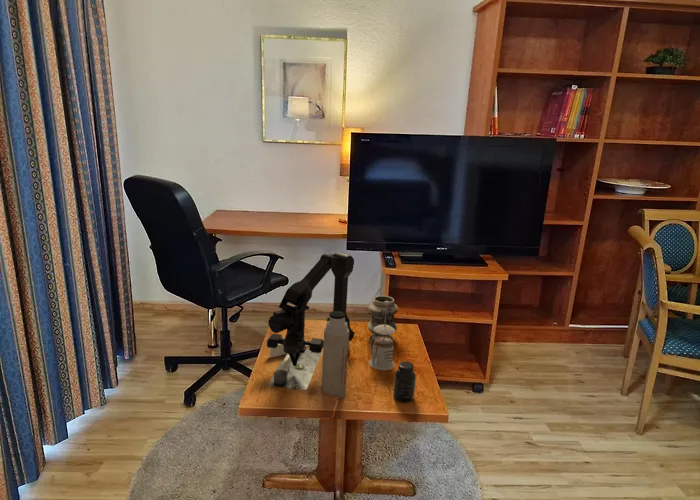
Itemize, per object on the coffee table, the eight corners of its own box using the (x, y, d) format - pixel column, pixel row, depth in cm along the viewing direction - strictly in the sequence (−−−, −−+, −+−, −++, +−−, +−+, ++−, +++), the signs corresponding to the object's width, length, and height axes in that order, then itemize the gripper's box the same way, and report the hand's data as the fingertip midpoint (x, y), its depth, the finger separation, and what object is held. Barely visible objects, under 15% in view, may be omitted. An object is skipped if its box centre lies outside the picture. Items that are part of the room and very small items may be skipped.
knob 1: (298, 347, 186) (299, 336, 185) (304, 352, 182) (304, 341, 181) (267, 354, 178) (267, 343, 177) (272, 359, 175) (272, 348, 174)
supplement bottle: (391, 391, 162) (394, 359, 159) (411, 392, 162) (414, 359, 159) (394, 403, 155) (397, 369, 152) (415, 403, 156) (419, 369, 153)
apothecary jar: (376, 330, 209) (379, 291, 205) (400, 339, 202) (404, 298, 198) (361, 339, 200) (363, 298, 195) (385, 348, 193) (389, 306, 188)
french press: (400, 364, 181) (405, 301, 174) (380, 374, 172) (385, 309, 166) (379, 355, 187) (384, 294, 181) (360, 364, 179) (364, 301, 172)
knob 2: (285, 385, 158) (285, 373, 157) (272, 384, 159) (272, 372, 158) (294, 366, 171) (294, 355, 170) (282, 365, 171) (282, 353, 170)
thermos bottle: (350, 391, 160) (354, 312, 153) (336, 402, 154) (341, 320, 147) (330, 383, 164) (334, 306, 157) (316, 393, 158) (319, 313, 151)
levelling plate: (322, 354, 185) (322, 349, 184) (306, 394, 157) (306, 388, 157) (289, 350, 186) (289, 345, 186) (267, 389, 158) (267, 384, 158)
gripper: (262, 330, 156) (261, 374, 160) (318, 336, 154) (317, 380, 158) (271, 317, 167) (271, 358, 171) (324, 323, 165) (322, 364, 169)
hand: (294, 365), depth 167 cm, fingers closed
